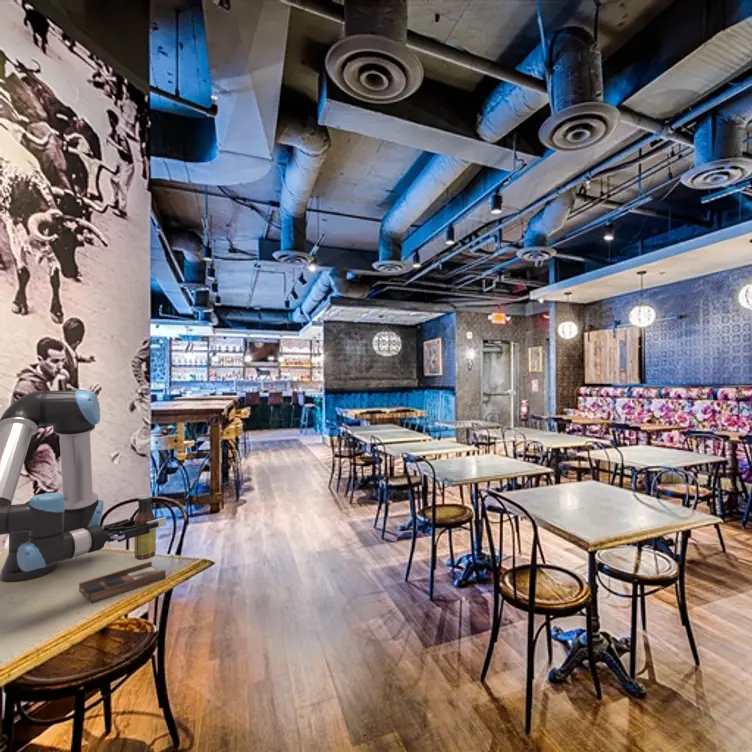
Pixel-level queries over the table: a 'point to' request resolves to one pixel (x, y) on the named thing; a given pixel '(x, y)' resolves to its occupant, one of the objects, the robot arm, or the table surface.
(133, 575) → the trap channel board
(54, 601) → the table surface
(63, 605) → the table surface
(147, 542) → the sauce bottle
